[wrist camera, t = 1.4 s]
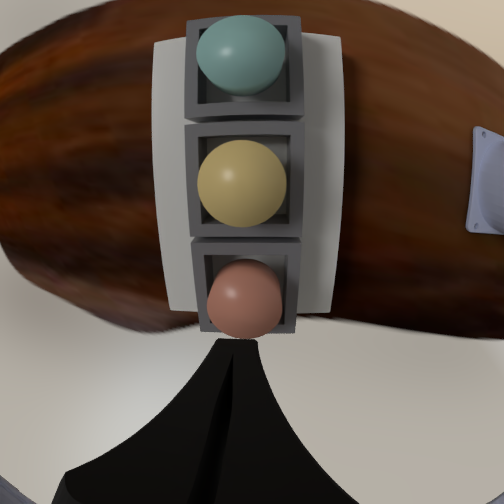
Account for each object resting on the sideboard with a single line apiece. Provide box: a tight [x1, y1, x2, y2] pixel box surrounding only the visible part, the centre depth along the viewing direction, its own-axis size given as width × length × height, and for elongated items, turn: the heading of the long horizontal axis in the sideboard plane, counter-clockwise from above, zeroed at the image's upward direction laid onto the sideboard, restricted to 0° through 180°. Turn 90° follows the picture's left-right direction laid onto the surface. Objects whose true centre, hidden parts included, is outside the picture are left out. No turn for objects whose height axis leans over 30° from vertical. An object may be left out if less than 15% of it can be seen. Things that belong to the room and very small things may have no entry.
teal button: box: [196, 15, 285, 97], centre depth 9 cm, size 3×3×2 cm
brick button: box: [207, 259, 282, 339], centre depth 13 cm, size 3×3×2 cm
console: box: [152, 15, 345, 333], centre depth 13 cm, size 10×16×4 cm, turn 1°
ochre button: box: [197, 140, 287, 227], centre depth 11 cm, size 3×3×2 cm
